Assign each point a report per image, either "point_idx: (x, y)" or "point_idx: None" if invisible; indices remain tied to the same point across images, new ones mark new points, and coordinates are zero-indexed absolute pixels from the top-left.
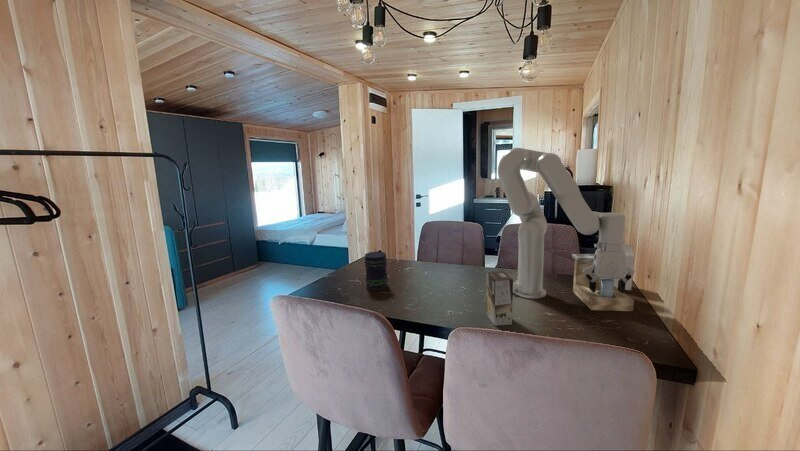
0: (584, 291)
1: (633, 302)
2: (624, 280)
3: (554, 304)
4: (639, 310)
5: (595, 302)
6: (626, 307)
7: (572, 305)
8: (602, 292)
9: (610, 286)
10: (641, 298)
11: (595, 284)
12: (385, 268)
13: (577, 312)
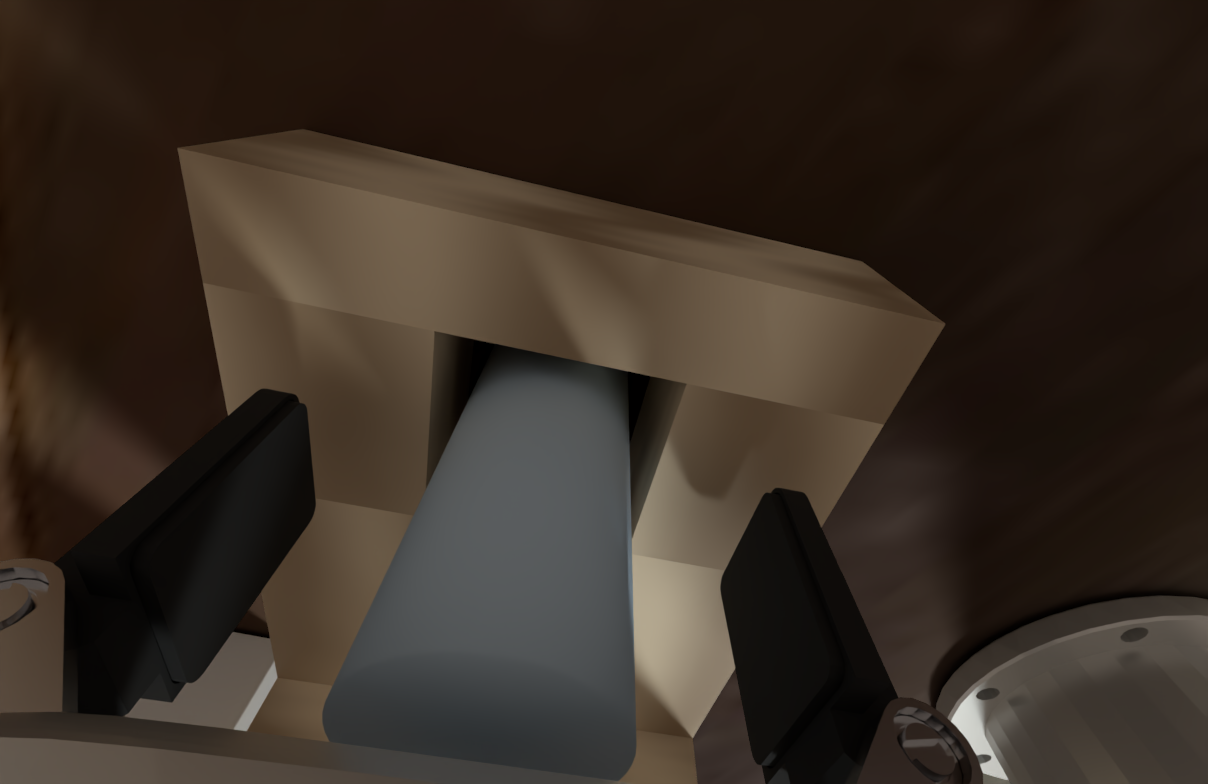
0: None
1: (214, 144)
2: (3, 632)
3: (1131, 466)
4: (197, 142)
5: (861, 288)
6: (378, 160)
7: (959, 415)
8: (627, 477)
9: (508, 521)
10: (57, 457)
11: (839, 626)
12: None
13: (1115, 216)
